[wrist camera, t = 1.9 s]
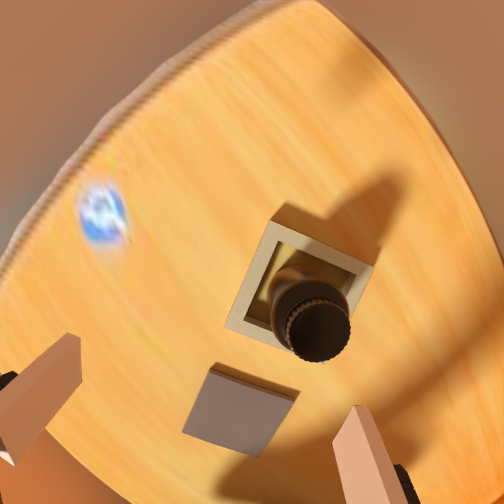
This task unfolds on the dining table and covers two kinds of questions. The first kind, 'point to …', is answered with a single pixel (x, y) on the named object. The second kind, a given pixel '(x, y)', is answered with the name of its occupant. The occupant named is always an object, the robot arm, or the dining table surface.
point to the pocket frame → (258, 266)
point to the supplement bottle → (308, 313)
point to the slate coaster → (236, 413)
